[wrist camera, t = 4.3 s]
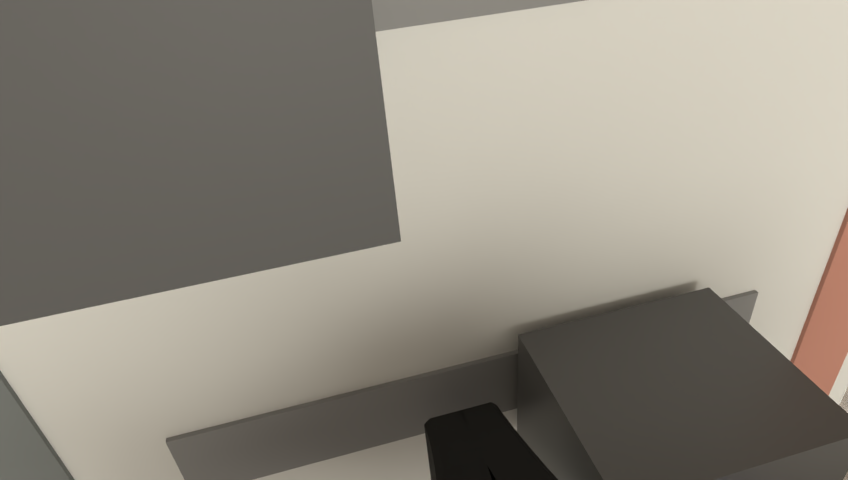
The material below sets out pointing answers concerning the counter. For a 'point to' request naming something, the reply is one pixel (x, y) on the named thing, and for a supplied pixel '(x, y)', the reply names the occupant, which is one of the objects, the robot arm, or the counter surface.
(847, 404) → the counter surface
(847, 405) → the counter surface
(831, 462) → the block
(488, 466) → the robot arm
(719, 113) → the breaker panel
